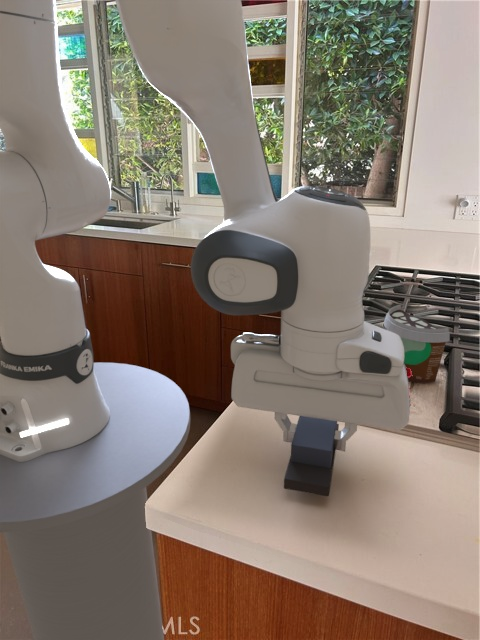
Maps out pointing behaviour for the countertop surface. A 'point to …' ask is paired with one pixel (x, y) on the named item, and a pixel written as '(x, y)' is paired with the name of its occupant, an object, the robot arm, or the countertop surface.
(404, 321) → the food container
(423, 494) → the countertop surface
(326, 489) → the stepped blue block
